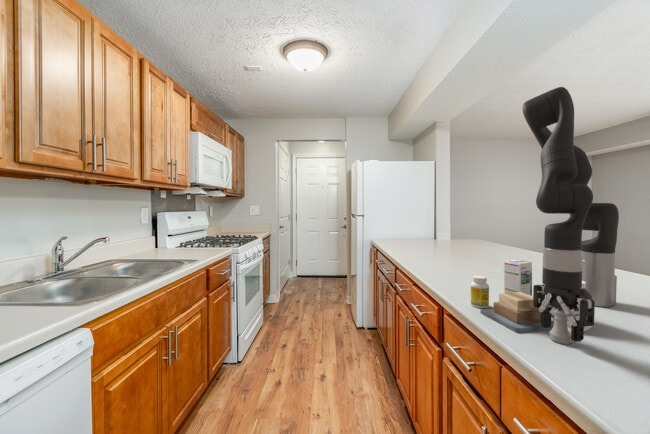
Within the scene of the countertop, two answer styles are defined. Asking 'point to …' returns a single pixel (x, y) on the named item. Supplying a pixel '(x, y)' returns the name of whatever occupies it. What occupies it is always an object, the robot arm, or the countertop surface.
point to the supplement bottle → (479, 292)
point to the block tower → (516, 312)
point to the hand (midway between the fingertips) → (560, 333)
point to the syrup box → (518, 276)
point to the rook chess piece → (560, 328)
